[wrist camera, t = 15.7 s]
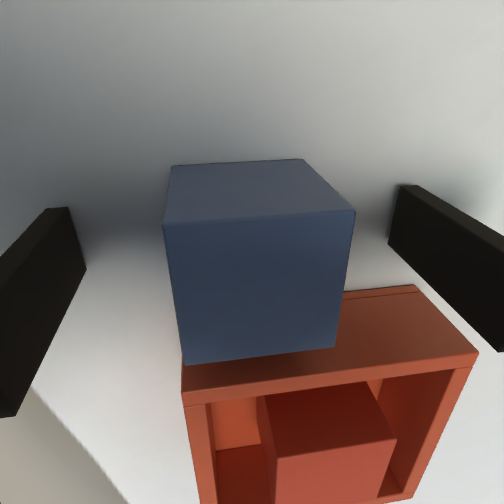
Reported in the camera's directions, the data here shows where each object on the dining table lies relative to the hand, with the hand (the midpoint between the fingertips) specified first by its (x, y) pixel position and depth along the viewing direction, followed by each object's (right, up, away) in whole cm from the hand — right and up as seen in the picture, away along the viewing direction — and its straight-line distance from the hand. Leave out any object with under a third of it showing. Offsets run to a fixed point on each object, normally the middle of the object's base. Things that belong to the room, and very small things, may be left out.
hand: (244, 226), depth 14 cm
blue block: (0, 0, 0) cm, 0 cm away
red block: (+3, -8, +5) cm, 10 cm away
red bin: (+3, -8, +6) cm, 10 cm away
